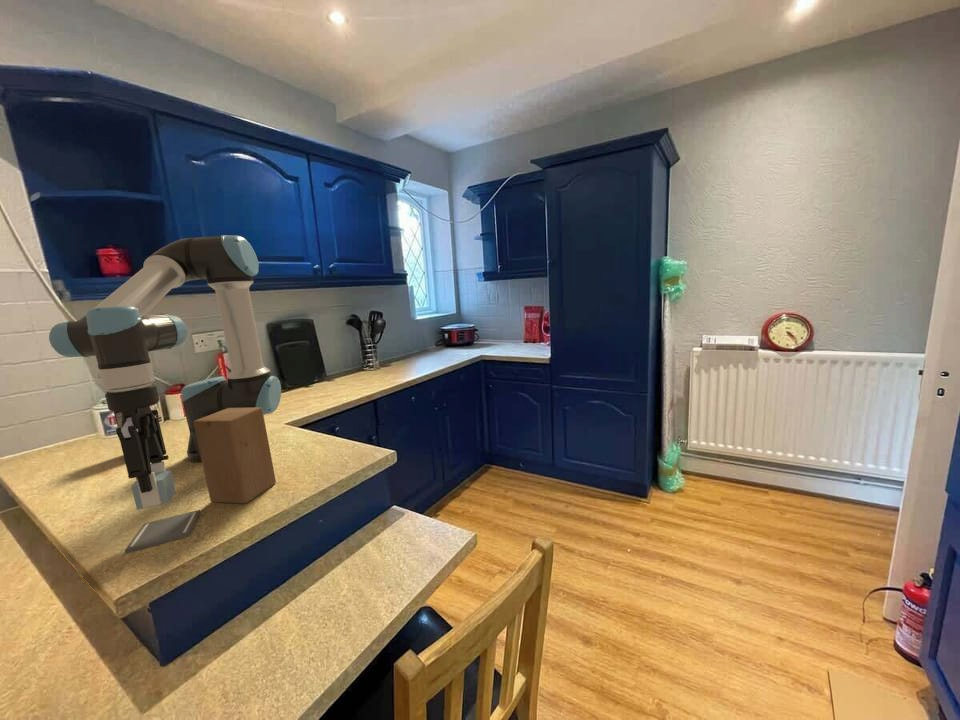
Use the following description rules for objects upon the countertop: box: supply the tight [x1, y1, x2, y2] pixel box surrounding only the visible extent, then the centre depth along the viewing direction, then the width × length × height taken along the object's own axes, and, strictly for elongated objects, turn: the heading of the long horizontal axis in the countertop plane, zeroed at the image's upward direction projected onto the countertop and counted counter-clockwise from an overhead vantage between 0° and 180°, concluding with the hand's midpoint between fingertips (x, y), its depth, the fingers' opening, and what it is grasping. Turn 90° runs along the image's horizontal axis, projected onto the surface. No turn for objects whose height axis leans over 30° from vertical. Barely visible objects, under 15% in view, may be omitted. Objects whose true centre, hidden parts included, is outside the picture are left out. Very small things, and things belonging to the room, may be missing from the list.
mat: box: [124, 509, 202, 554], centre depth 81 cm, size 10×10×1 cm
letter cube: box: [130, 469, 177, 511], centre depth 79 cm, size 5×5×5 cm
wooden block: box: [193, 407, 277, 504], centre depth 93 cm, size 10×10×20 cm
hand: (157, 498), depth 79 cm, fingers closed on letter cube, 5 cm apart
